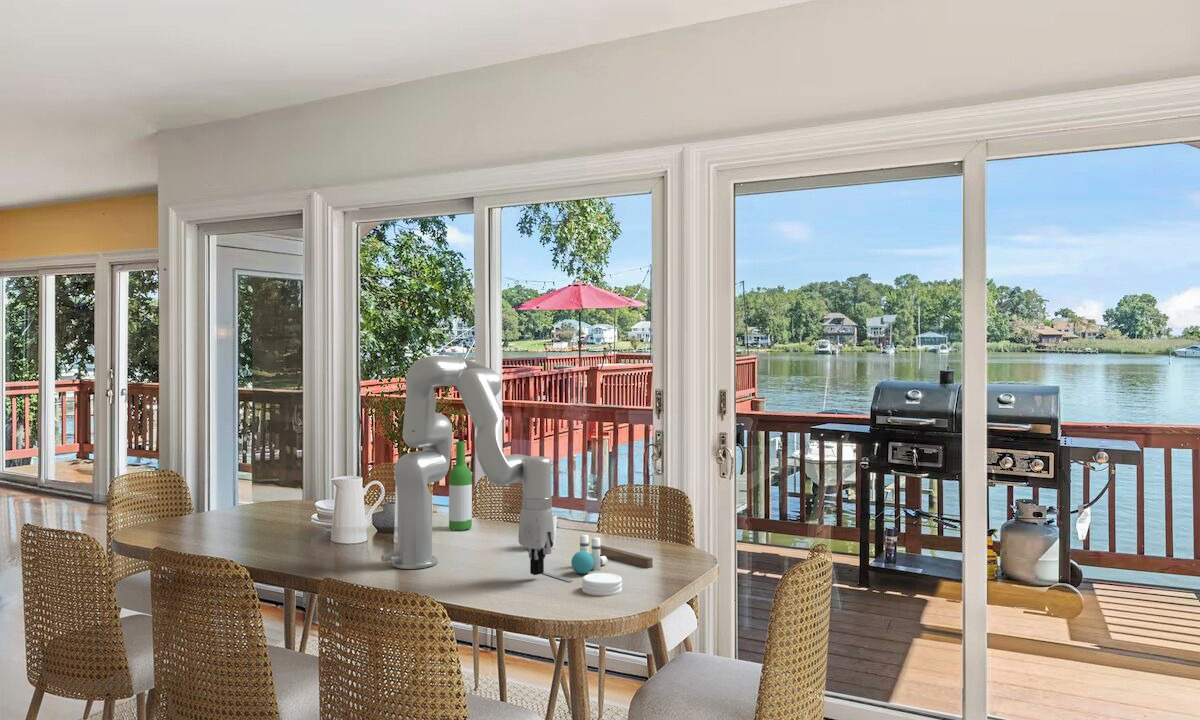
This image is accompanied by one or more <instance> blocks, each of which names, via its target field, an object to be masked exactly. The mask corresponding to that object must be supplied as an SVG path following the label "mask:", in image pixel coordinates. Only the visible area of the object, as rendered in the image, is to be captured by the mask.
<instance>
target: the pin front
mask: <svg viewBox="0 0 1200 720" xmlns="http://www.w3.org/2000/svg"><path fill="white" fill-rule="evenodd" d="M607 564H608V558H607V557H606V556H600V567H602V566H605V565H607Z"/></svg>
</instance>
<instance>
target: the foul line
mask: <svg viewBox="0 0 1200 720" xmlns="http://www.w3.org/2000/svg"><path fill="white" fill-rule="evenodd" d="M542 575H545V576H548V577H550V578H554V579H557V580H560V581H563V582H567V583H572V582H574V580H571V579H568V578H565V577H562V576H559V575H555V574H552V573H549V572H546V571H544V573H543V574H542Z"/></svg>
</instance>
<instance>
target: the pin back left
mask: <svg viewBox="0 0 1200 720" xmlns="http://www.w3.org/2000/svg"><path fill="white" fill-rule="evenodd" d="M589 536H590V535H588V534H580V535H579V551H586V552H588V553H589V554H590V552H589V551H590V550H589V545H590V543H589V542H590V541H589Z"/></svg>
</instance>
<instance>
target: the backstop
mask: <svg viewBox="0 0 1200 720" xmlns="http://www.w3.org/2000/svg"><path fill="white" fill-rule="evenodd" d="M600 545H601V544H600ZM600 555H601V556H606V557H608V558H607V559H611V558H612V559H611V560H615V561H618V560H619V561H618V562H622V561H623V562H622V563H626V562H627V563H626V564H630V565H633V564H634V565H635V566H638V567H641V568H645V569H650V568H653V562H654V561H653V559H654V557H650V556H646V555H643V554H642V555H641V554H638V553H634V552H629V551H626V550H621V549H618V548H613V547H610V546H605V545H601V549H600ZM601 556H600V557H601ZM634 565H633V566H634Z"/></svg>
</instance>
